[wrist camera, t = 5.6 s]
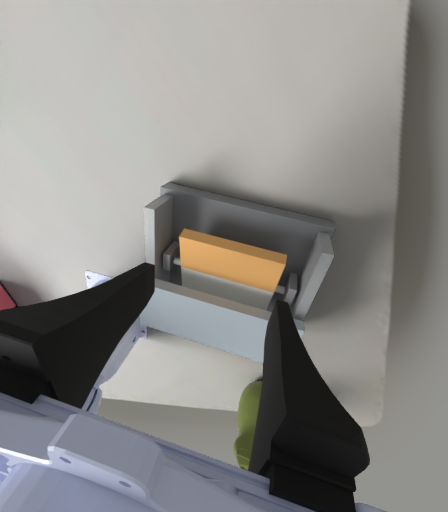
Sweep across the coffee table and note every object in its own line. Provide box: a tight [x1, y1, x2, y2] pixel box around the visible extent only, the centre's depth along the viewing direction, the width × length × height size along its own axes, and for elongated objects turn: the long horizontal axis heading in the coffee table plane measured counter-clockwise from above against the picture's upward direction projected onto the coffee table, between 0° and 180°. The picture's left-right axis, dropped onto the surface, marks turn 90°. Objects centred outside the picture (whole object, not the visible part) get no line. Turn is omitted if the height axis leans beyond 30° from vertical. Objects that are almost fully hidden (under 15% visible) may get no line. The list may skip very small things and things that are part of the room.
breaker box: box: [144, 182, 336, 321], centre depth 22 cm, size 12×14×5 cm
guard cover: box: [139, 279, 305, 363], centre depth 21 cm, size 5×13×1 cm, turn 81°
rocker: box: [173, 228, 287, 310], centre depth 21 cm, size 7×10×1 cm
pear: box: [234, 381, 262, 471], centre depth 29 cm, size 6×5×10 cm
